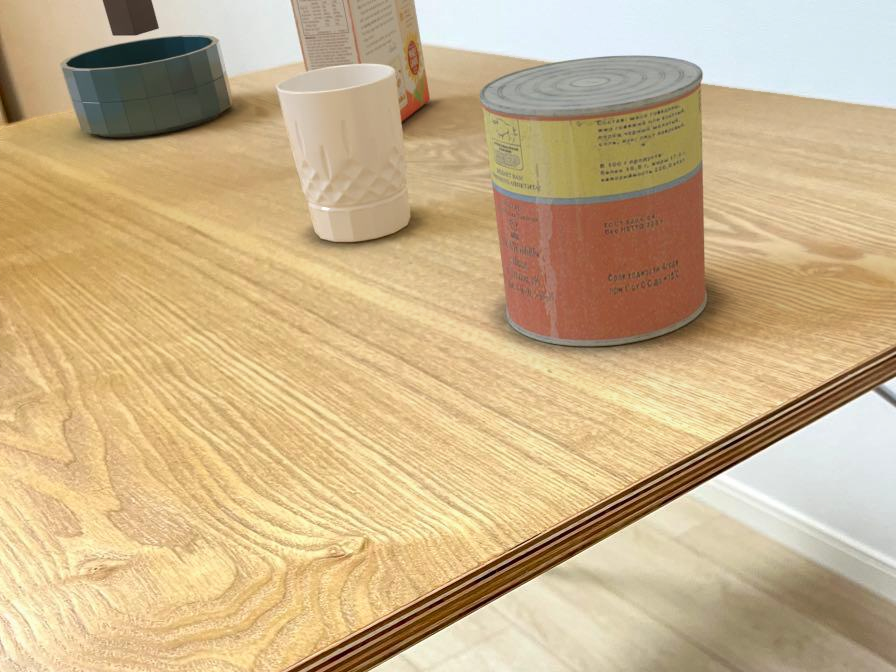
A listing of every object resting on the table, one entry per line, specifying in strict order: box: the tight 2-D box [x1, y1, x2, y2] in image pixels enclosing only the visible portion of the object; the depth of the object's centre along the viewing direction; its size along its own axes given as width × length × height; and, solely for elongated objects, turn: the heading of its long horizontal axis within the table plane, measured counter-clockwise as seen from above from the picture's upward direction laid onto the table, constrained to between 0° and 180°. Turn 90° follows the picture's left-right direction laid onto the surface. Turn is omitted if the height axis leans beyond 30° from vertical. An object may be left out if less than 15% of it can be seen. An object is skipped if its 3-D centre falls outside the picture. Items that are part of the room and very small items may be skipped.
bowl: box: [59, 34, 234, 139], centre depth 114 cm, size 15×15×6 cm
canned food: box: [478, 55, 708, 347], centre depth 61 cm, size 11×11×12 cm
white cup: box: [274, 64, 412, 243], centre depth 78 cm, size 8×8×10 cm
